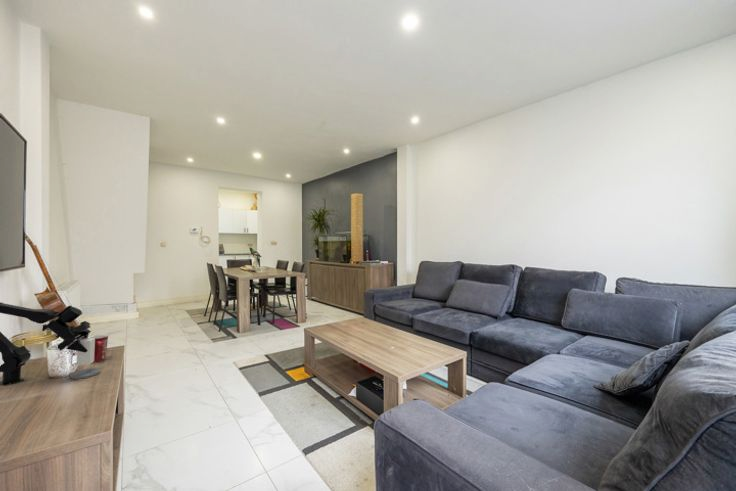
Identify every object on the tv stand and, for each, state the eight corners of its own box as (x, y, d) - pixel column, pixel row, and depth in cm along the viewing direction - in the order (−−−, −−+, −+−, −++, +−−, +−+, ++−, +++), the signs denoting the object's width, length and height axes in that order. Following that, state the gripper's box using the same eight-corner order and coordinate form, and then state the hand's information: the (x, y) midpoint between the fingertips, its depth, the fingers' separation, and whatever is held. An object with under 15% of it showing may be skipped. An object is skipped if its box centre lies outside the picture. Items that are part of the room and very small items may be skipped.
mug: (86, 359, 175) (87, 336, 175) (106, 356, 181) (107, 333, 182) (87, 365, 166) (88, 341, 166) (109, 362, 172) (110, 337, 173)
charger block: (76, 365, 151) (77, 341, 152) (81, 362, 156) (82, 338, 156) (89, 364, 153) (90, 340, 153) (93, 361, 158) (95, 337, 158)
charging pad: (65, 376, 151) (65, 374, 151) (92, 369, 162) (92, 366, 162) (77, 380, 147) (77, 378, 147) (104, 372, 157) (104, 370, 157)
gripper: (67, 321, 145) (95, 343, 149) (86, 313, 162) (111, 333, 166) (44, 339, 142) (73, 361, 146) (67, 329, 159) (92, 349, 163)
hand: (89, 350), depth 155 cm, fingers closed on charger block, 5 cm apart
